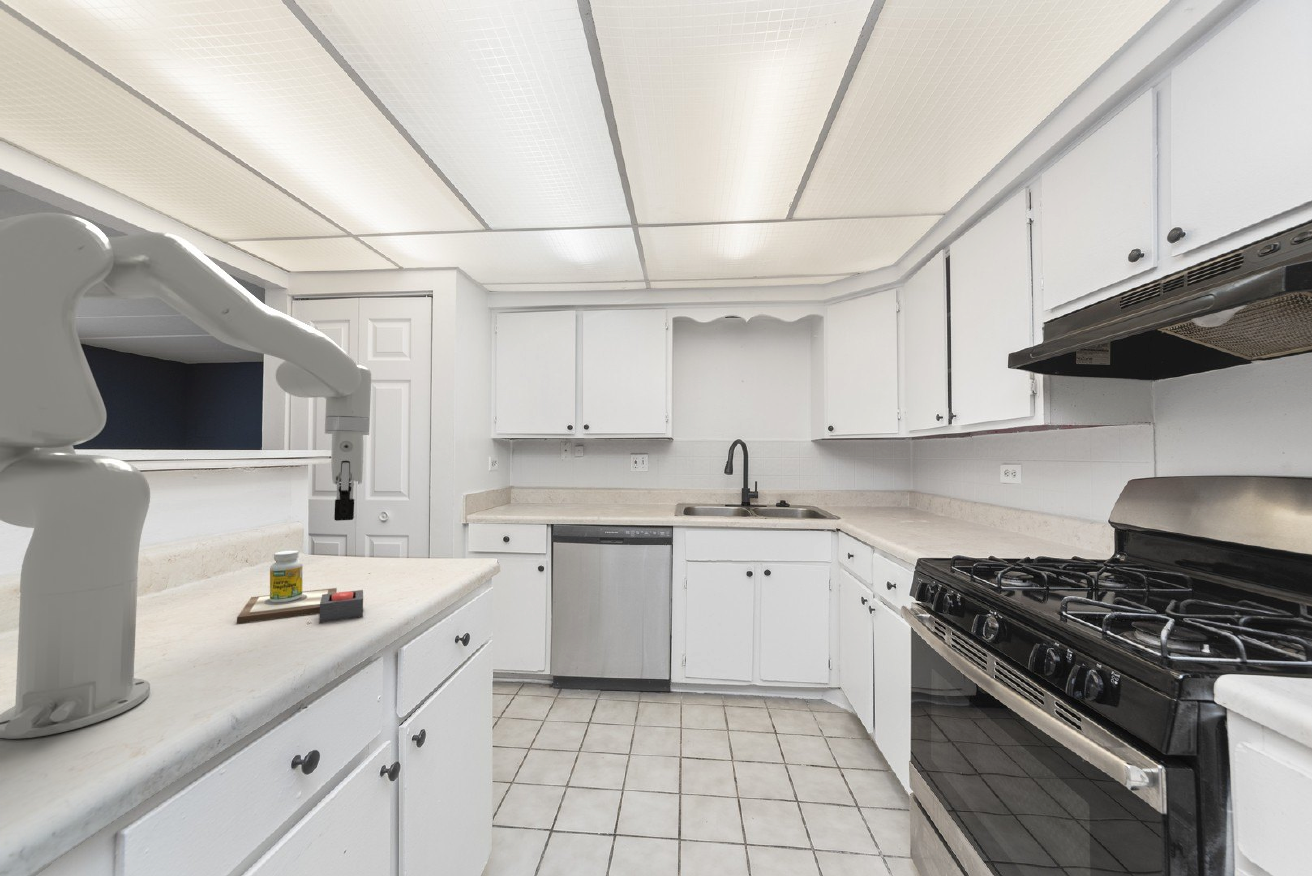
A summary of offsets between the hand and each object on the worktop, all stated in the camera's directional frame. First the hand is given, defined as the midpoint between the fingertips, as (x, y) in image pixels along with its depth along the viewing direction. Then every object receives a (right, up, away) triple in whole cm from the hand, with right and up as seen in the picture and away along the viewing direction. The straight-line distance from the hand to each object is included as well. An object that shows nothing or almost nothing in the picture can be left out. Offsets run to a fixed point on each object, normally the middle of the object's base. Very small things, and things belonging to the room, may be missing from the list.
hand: (344, 519), depth 98 cm
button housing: (0, -19, 0) cm, 19 cm away
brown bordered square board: (-13, -19, +4) cm, 23 cm away
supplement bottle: (-14, -17, +4) cm, 23 cm away
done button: (0, -17, 0) cm, 17 cm away
